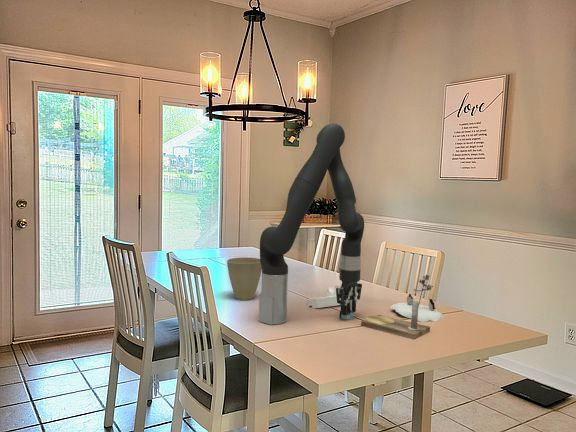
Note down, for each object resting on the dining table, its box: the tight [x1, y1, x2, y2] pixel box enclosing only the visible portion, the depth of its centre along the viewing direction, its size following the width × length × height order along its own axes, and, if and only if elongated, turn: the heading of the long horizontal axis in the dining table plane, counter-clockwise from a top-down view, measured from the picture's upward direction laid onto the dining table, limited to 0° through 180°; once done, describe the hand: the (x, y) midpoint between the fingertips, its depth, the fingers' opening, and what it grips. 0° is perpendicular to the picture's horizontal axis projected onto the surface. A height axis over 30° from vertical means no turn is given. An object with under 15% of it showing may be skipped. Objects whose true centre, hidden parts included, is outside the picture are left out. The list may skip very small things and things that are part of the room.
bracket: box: [306, 284, 342, 309], centre depth 201 cm, size 13×7×8 cm, turn 121°
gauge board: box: [360, 301, 431, 340], centre depth 173 cm, size 12×21×10 cm, turn 50°
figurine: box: [390, 273, 445, 323], centre depth 191 cm, size 20×18×16 cm
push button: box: [338, 292, 357, 321], centre depth 183 cm, size 7×5×10 cm
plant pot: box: [226, 256, 262, 301], centre depth 208 cm, size 15×15×16 cm
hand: (348, 313), depth 183 cm, fingers closed on push button, 5 cm apart
